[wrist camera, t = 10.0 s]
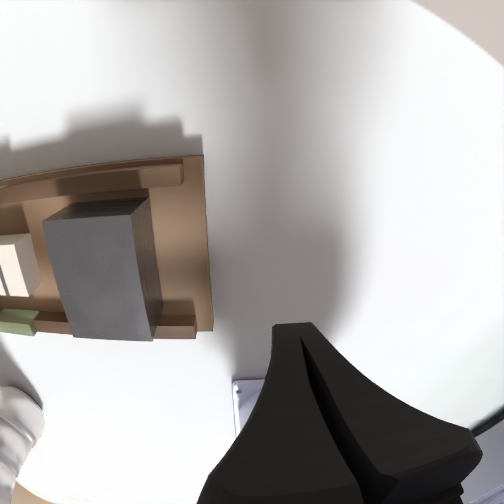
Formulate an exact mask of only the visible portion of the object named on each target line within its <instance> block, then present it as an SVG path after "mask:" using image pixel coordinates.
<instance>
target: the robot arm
mask: <svg viewBox="0 0 504 504" xmlns="http://www.w3.org/2000/svg"><path fill="white" fill-rule="evenodd" d="M232 390H233V403H234V416H235V429H236V440H235V441H234V443H233V444H232V446H231V447H230V449H229V450H228V451H227V453H226V454H225V456H224V457H223V458H222V459H221V461H220V462H219V463H218V464H217V466H216V467H215V468H214V469H213V470H212V472H211V473H210V474H209V475H208V478H207V480H206V482H205V485H204V487H203V489H202V491H201V494H200V496H199V499H198V501H197V504H463V502H462V500H461V498H460V495H462V494H463V493H464V490H463V488H462V486H461V482H462V481H463V480H464V479H465V478H466V477H467V476H468V475H469V474H470V473H471V472H472V470H474V469H475V467H476V466H477V465H478V463H479V462H480V460H481V458H482V455H483V453H482V450H481V448H480V447H479V445H478V443H477V441H476V440H475V438H474V436H473V435H472V433H471V432H470V430H469V429H467V428H464V427H461V426H458V425H455V424H452V423H449V422H446V421H443V420H440V419H438V418H435V417H433V416H431V415H428V414H426V413H424V412H422V411H420V410H418V409H416V408H414V407H412V406H410V405H408V404H406V403H404V402H403V401H401V400H399V399H397V398H396V397H394V396H392V395H391V394H389V393H388V392H386V391H385V390H383V389H382V388H381V387H379V386H378V385H376V384H375V383H373V382H372V381H371V380H369V379H368V378H367V377H366V376H364V375H363V374H362V373H361V372H360V371H359V370H357V369H356V368H355V367H354V366H353V365H352V364H351V363H350V362H349V361H348V360H347V359H346V358H344V357H343V356H342V355H341V354H340V353H339V352H338V351H337V350H336V349H335V348H334V346H333V345H332V344H331V343H330V342H329V341H328V340H327V339H326V338H325V337H324V336H323V335H322V333H321V332H320V331H319V330H318V329H317V328H316V327H315V326H314V325H313V324H312V323H311V322H307V323H291V324H276V325H274V326H273V327H272V349H271V360H270V364H269V368H268V371H267V375H266V378H265V379H261V380H238V381H235V382H233V384H232ZM238 390H240V391H238ZM0 504H3V503H0ZM469 504H504V484H503V485H501V486H499V487H498V488H496V489H494V490H492V491H491V492H489V493H487V494H485V495H484V496H482V497H480V498H478V499H476V500H474V501H473V502H471V503H469Z"/></svg>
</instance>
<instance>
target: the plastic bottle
mask: <svg viewBox="0 0 504 504" xmlns="http://www.w3.org/2000/svg"><path fill="white" fill-rule="evenodd" d="M44 424H45V421H44V416H43V412H42V410H41V408H40V407H39V406H38V404H37V403H36V402H35V401H34V400H33V399H32V398H31V397H29V396H28V395H27V394H26V393H24V392H23V391H21V390H19V389H17V388H15V387H11V386H7V387H3V388H0V503H3V504H10V503H11V498H12V492H13V489H14V486H15V483H16V478H17V477H18V474H19V471H20V468H21V467H22V465H23V463H24V461H25V459H26V457H27V456H28V454H29V452H30V450H31V448H33V447H34V445H35V444H36V443H37V441H38V440H39V438H40V437H41V435H42V433H43V428H44Z"/></svg>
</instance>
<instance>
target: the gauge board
mask: <svg viewBox="0 0 504 504" xmlns="http://www.w3.org/2000/svg"><path fill="white" fill-rule="evenodd" d="M138 197H149V199H150V210H151V219H152V228H153V237H154V245H155V253H156V260H157V268H158V274H159V281H160V288H161V294H162V300H163V306H164V307H163V310H162V313H161V316H160V319H159V322H158V326H157V329H156V332H155V335H154V338H153V339H196V334H197V331H213V325H214V320H213V309H212V296H211V283H210V270H209V255H208V239H207V222H206V203H205V182H204V156H203V155H192V156H176V157H162V158H149V159H138V160H128V161H119V162H110V163H101V164H93V165H86V166H79V167H72V168H65V169H59V170H53V171H47V172H41V173H35V174H30V175H24V176H19V177H14V178H9V179H5V180H0V235H12V234H25V233H30V234H31V239H32V243H33V247H34V252H35V256H36V260H37V264H38V267H39V271H40V275H41V278H42V282H43V283H42V284H41V285H40V286H39V287H38V288H37V289H36V290H35V291H34V292H33V293H32V294H31V295H30V296H29V297H24V296H5V295H0V332H5V333H12V334H20V335H28V336H34V335H35V334H36V332H37V331H38V332H48V333H59V334H70V335H73V334H72V331H71V329H70V326H69V323H68V320H67V317H66V314H65V311H64V308H63V304H62V301H61V298H60V295H59V291H58V288H57V284H56V281H55V277H54V273H53V269H52V265H51V261H50V257H49V253H48V249H47V244H46V240H45V235H44V230H43V225H42V221H43V220H45V219H47V218H48V217H50V216H51V215H53V214H54V213H56V212H58V211H59V210H61V209H63V208H64V207H66V206H68V205H69V204H71V203H78V202H88V201H99V200H111V199H124V198H138Z"/></svg>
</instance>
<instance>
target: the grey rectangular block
mask: <svg viewBox="0 0 504 504" xmlns="http://www.w3.org/2000/svg"><path fill="white" fill-rule="evenodd" d="M42 225H43V230H44V235H45V240H46V244H47V249H48V253H49V257H50V261H51V265H52V269H53V273H54V277H55V281H56V284H57V288H58V291H59V295H60V298H61V301H62V304H63V308H64V311H65V314H66V317H67V320H68V323H69V326H70V329H71V331H72V334H73V337H77V338H90V339H106V340H127V341H153V338H154V335H155V332H156V329H157V326H158V322H159V319H160V316H161V313H162V310H163V307H164V306H163V300H162V294H161V288H160V281H159V274H158V268H157V260H156V253H155V245H154V237H153V228H152V219H151V210H150V199H149V197H138V198H124V199H111V200H99V201H88V202H78V203H71V204H69V205H68V206H66V207H64V208H63V209H61V210H59V211H58V212H56V213H54V214H53V215H51V216H50V217H48V218H47V219H45V220H43V221H42Z"/></svg>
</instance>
